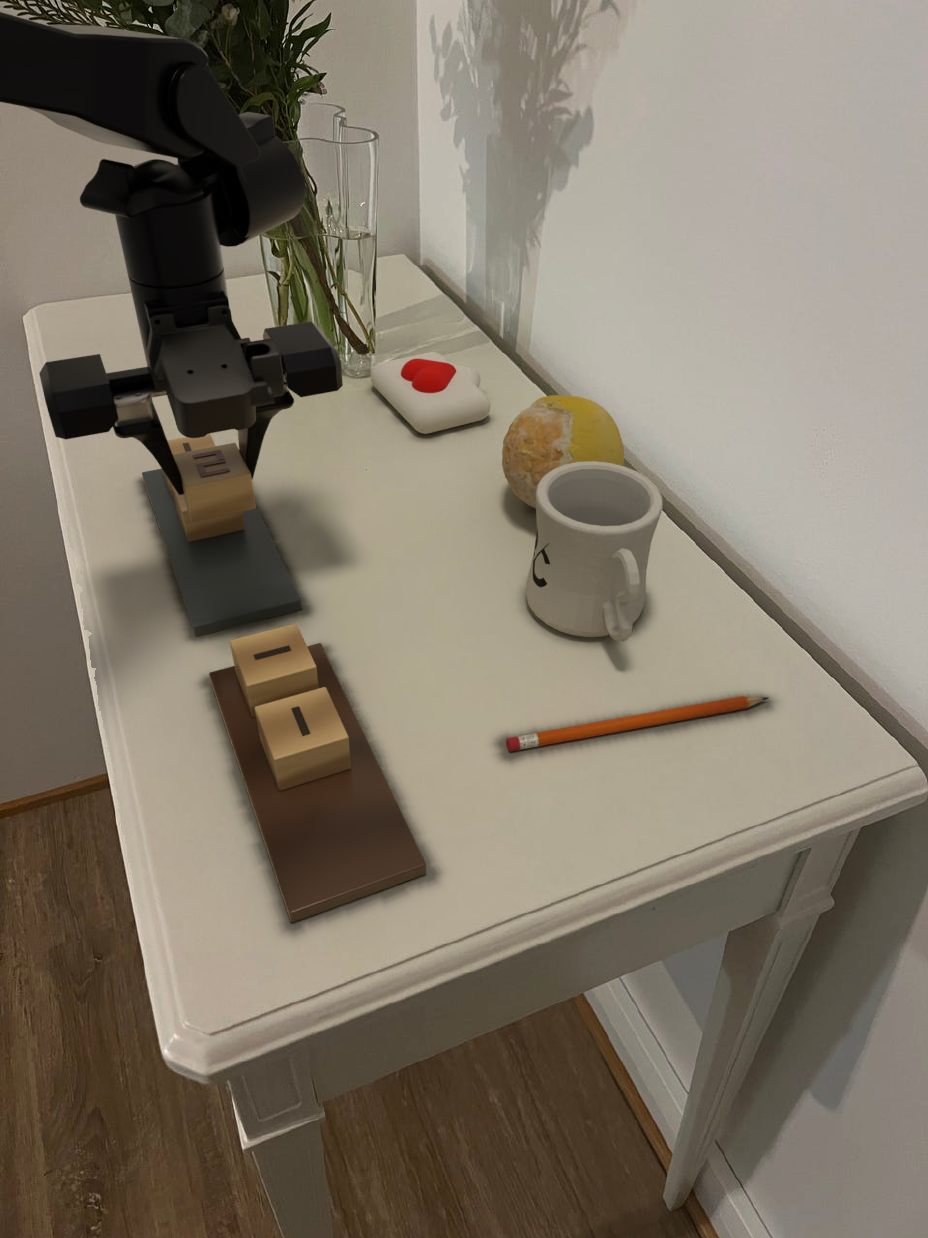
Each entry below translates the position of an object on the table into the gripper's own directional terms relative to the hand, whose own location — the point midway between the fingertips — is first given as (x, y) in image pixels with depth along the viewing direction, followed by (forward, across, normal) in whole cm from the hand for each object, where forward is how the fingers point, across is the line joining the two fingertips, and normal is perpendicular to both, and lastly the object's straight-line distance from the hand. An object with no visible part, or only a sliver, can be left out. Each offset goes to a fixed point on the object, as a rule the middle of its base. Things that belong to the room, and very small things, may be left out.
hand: (214, 484), depth 68 cm
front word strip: (+9, 0, -21) cm, 23 cm away
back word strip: (+9, 0, +5) cm, 10 cm away
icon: (+9, +26, +20) cm, 34 cm away
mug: (+9, +24, -15) cm, 29 cm away
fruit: (+9, +28, -1) cm, 30 cm away
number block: (+1, 0, 0) cm, 1 cm away
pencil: (+9, +22, -26) cm, 35 cm away
